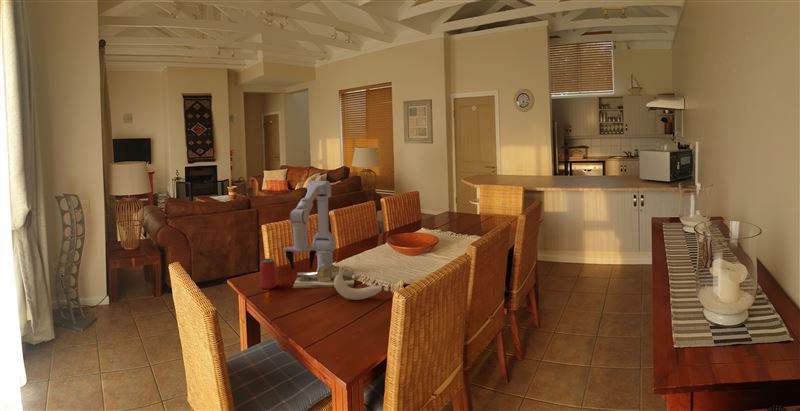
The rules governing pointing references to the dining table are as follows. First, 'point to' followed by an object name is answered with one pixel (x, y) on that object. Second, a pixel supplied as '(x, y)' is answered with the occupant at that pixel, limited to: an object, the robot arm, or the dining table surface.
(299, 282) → the valve board
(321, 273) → the lever
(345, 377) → the dining table surface
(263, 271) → the beer can
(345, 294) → the banana
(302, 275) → the valve
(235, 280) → the dining table surface
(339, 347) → the dining table surface
